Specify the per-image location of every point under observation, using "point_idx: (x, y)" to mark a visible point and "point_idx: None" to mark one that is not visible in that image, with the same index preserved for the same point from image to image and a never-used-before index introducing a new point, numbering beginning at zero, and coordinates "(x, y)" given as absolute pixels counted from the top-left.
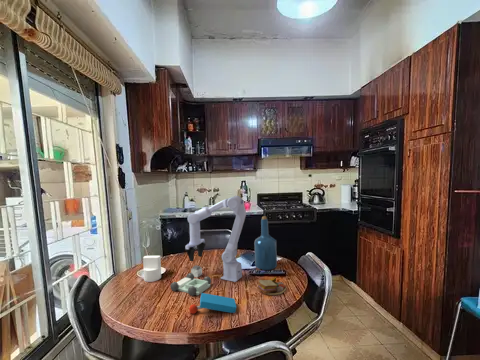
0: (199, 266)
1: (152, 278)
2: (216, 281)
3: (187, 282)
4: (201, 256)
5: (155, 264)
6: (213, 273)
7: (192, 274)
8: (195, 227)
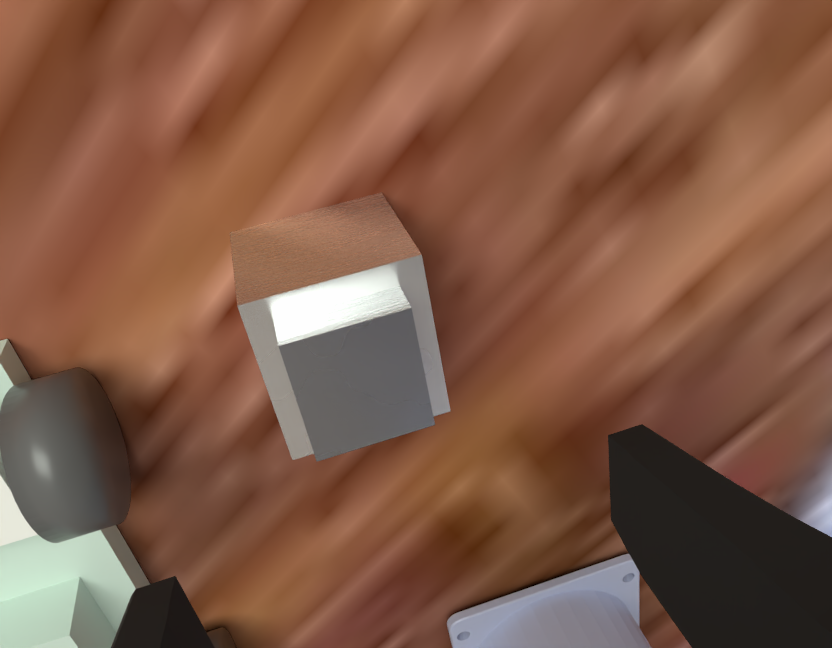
0: (408, 431)
1: None
2: (364, 631)
3: None
4: (622, 524)
5: None
6: (545, 423)
7: (99, 529)
8: None
